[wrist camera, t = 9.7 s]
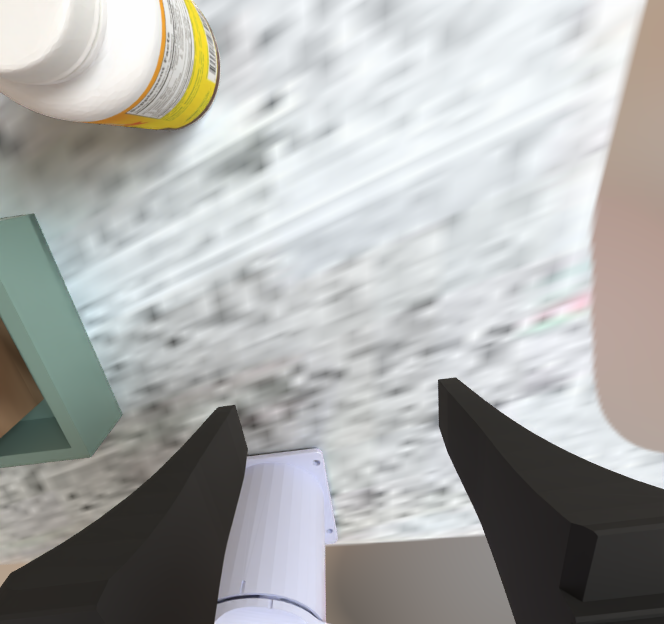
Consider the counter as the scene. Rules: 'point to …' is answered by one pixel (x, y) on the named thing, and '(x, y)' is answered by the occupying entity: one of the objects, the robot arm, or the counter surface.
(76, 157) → the counter surface
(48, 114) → the supplement bottle
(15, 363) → the walnut crate
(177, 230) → the counter surface
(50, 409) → the green crate
